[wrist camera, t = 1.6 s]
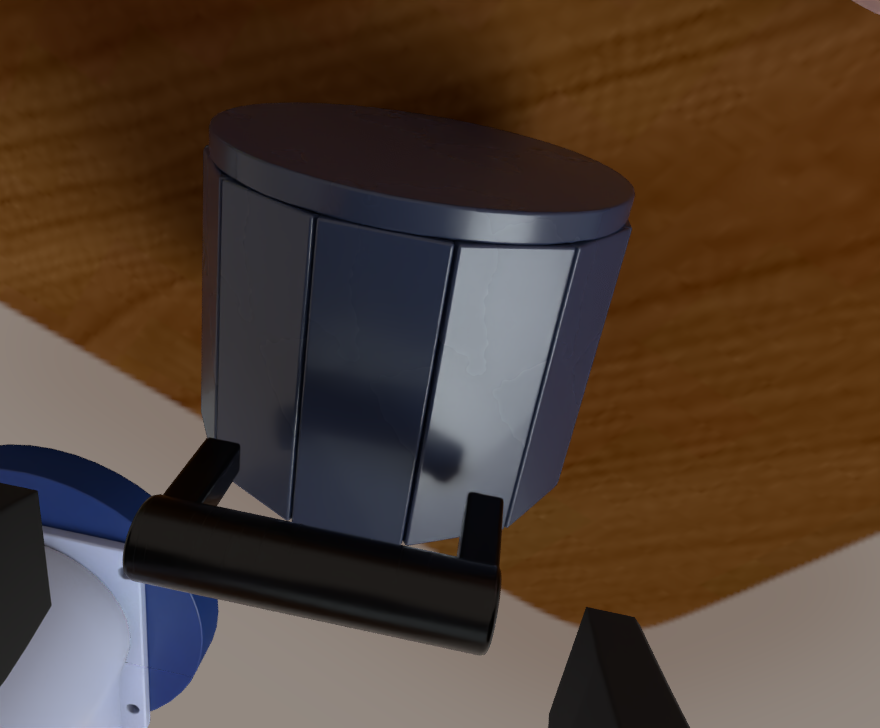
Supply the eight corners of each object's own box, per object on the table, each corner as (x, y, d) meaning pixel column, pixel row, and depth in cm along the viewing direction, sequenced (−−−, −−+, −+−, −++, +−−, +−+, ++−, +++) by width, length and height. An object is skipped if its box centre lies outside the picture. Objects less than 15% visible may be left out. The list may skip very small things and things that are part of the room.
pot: (614, 149, 16) (553, 377, 19) (289, 88, 17) (275, 322, 19) (714, 333, 7) (568, 726, 10) (-24, 188, 7) (34, 610, 10)
